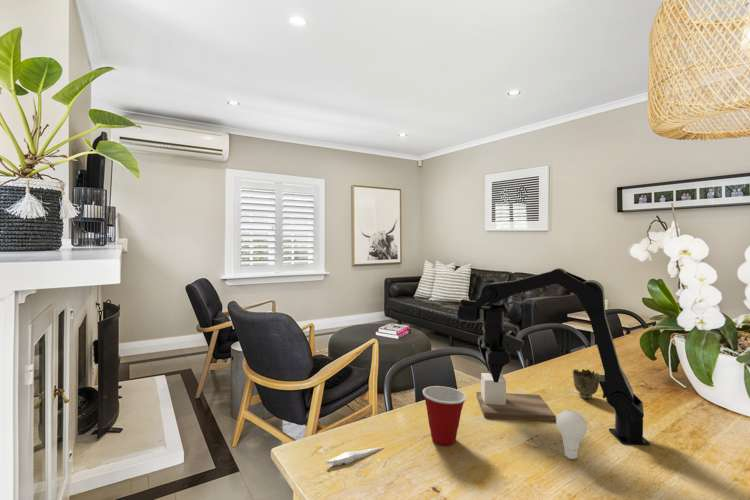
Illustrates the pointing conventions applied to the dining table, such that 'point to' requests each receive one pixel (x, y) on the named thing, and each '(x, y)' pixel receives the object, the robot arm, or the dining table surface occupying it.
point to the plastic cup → (443, 413)
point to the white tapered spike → (350, 456)
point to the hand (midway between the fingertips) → (492, 376)
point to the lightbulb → (571, 431)
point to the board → (518, 408)
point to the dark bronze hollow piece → (586, 383)
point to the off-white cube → (493, 389)
